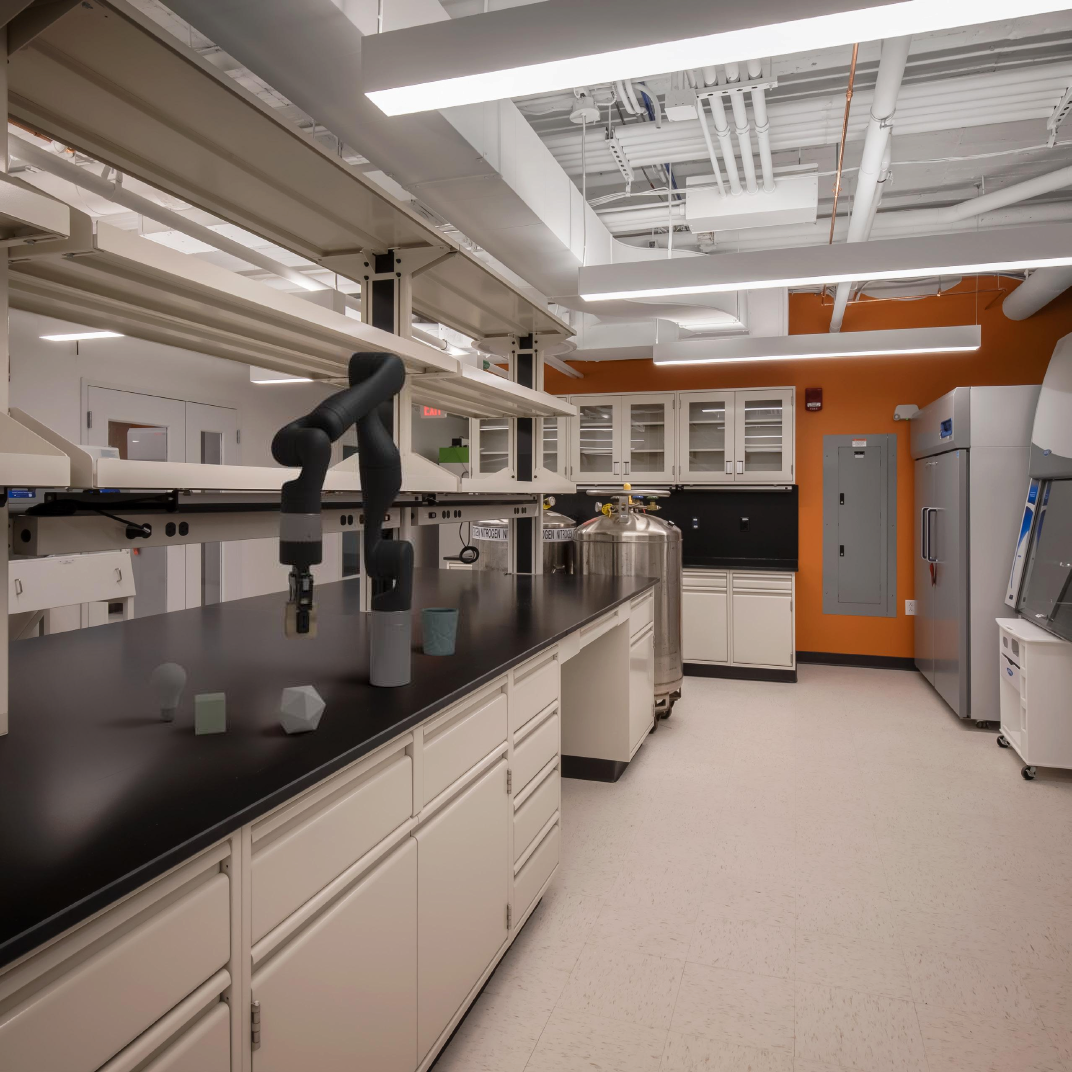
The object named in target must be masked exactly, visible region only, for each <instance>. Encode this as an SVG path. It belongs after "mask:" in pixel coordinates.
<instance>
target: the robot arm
mask: <svg viewBox="0 0 1072 1072" xmlns="http://www.w3.org/2000/svg"><path fill="white" fill-rule="evenodd" d="M347 366H348V368H347V369H348V370H347V377H348V386H349V387H348V388H345V389H343V390H340V391H338V392H336V393H334V394H332V395H329V397H326V398H325V399H324V400H323V401H321V403H320V404H318V405H317V406H316V407H315V408H314V409H313V410H312V411H311V412H310V413H308V414H306V415H304V416H302V417H299V418H298V419H295V420H293V421H291V422H290V423H288V424H286V425H284V426H282V427H281V428H280V429H279V430H278V431H276V433H275V435H274V436H273V439H272V441H271V446H270V451H271V455H272V458H273V459H274V461H276V462H277V463H278V464H279V465H280V466H283V467H287V468H301V469H300V473H299V474H298V475H299V476H298V477H296V478H295V479H292V480H288V481H285V482H284V483H282V486H281V488H280V489H281V490H280V493H281V494H280V520H279V530H278V531H279V534H278V535H279V536H278V538H279V539H278V540H279V541H278V543H279V545H278V546H279V548H278V549H279V552H278V553H279V555H278V556H279V557H278V559H279V560H278V561H279V563H280V564H281V565H282V566H291V568H292V569H291V570H292V571H289V573H288V576H287V577H288V579H287V580H288V583H289V585H288V595H289V599H288V600H289V601H295V604H296V608H295V611H296V632H297V633H298V634H302V633H308V632H309V612H310V611H311V610H312V608H313V605H312V600H313V598H314V597H313V596H314V595H313V593H314V584H315V579H314V575H313V574H312V573H311V569H310V567H311V566H317V565H321V564H322V563H323V530H324V529H323V518H322V491H323V488H324V483H325V480H326V476H327V472H328V469H329V465H330V462H331V458H332V452H333V451H332V450H333V449H332V444H334V443H336V442H337V441H338V440H339V439H340V438H342V436H344V434H345V433H347V431H348V430H349V429H350V428H351V427H352V426H353V425H355V429H356V430H355V432H356V438H357V439H356V440H357V441H356V442H357V451H358V453H357V454H358V471H359V472H358V473H359V483H360V491H361V500H362V513H363V564H364V565H363V566H364V569H365V573H366V575H367V577H369V579H373V580H391V581H394V587H392V588H391V589H390V590H388V591H385V592H382V593H378V594H375V595H374V596H372V597H371V600H370V649H369V651H370V652H369V653H370V654H369V655H370V656H369V657H370V659H369V675H370V676H369V683H370V684H371V685H372V686H378V687H386V688H387V687H388V688H389V687H400V686H405V685H407V684H409V683H411V661H412V658H411V657H412V656H411V653H412V652H411V651H412V650H411V649H412V648H411V647H412V646H411V645H412V642H411V641H412V601H413V600H412V598H413V579H414V578H413V577H414V566H415V565H414V564H415V552H414V546H413V544H412V543H411V542H410V541H409V540H404V539H403V540H402V539H382V530H383V529H382V527H383V523H384V521H385V517H386V515H387V513H388V511H389V510H390V509H391V506H392V505H393V503H394V501H395V500H396V498H397V496H398V494H400V490H401V488H402V485H403V475H402V473H403V472H402V471H403V470H402V458H401V454H400V451H399V449H398V447H397V446H396V444H395V442H394V441H393V438H392V437H391V436H390V434H389V432H388V431H387V430H386V428H385V426H384V425H383V422H382V421H381V420H380V417H379V414H378V410H377V407H378V406H380V405H382V404H383V403H385V402H386V401H388V400H390V399H392V398H394V396H396V395H398V394H399V393H400V392H401V391H402V389H403V388H404V385H405V382H406V366H405V363H404V360H403V359H402V358H401V357H400V356H399V355H398V354H396V353H392V352H387V351H385V352H384V351H382V352H381V351H358V352H354V353H353V354H352V355H351V357H350V358H349V361H348V365H347ZM301 601H307V604H301ZM313 601H314V600H313Z"/></svg>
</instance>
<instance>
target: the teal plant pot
mask: <svg viewBox="0 0 1072 1072" xmlns="http://www.w3.org/2000/svg"><path fill="white" fill-rule="evenodd" d="M421 618H422V619H421V620H422V621H421V622H422V640H423V654H424V655H426V656H427V655H428V656H435V657H440V656H441V657H442V656H451V655H453V654H454V653H455V646H456V637H457V626H458V618H459V609H457V608H453V607H451V608H450V607H428V608H427V607H426V608H422V609H421Z"/></svg>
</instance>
